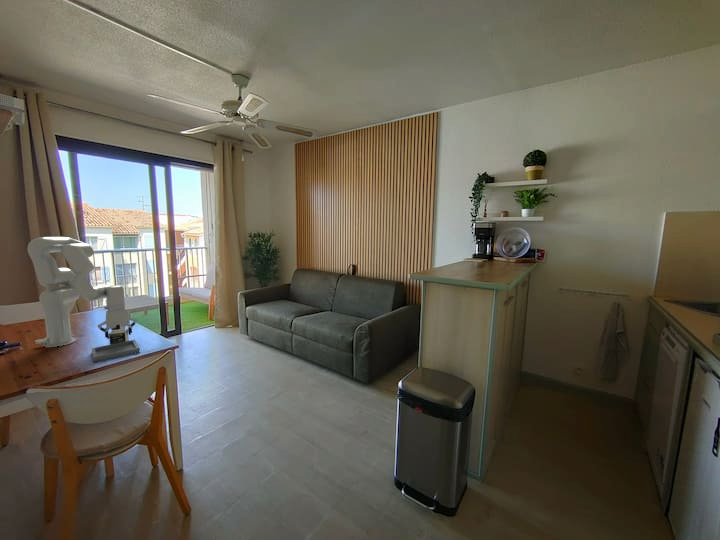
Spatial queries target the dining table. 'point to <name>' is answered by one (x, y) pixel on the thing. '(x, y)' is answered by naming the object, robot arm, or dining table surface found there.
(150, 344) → the dining table surface
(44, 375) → the dining table surface
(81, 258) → the robot arm
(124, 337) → the medicine bottle
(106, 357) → the grey tray
